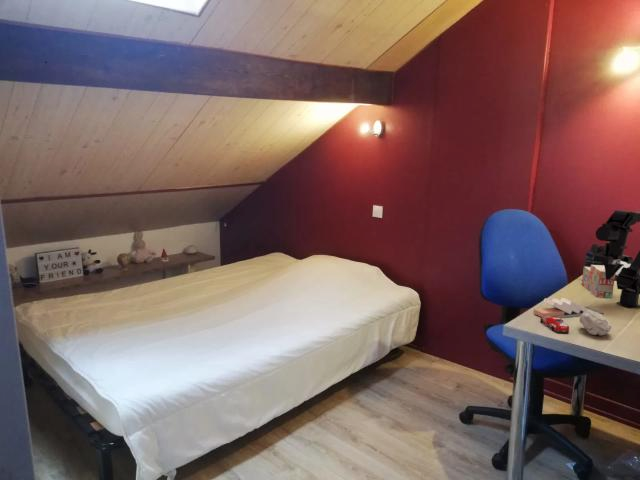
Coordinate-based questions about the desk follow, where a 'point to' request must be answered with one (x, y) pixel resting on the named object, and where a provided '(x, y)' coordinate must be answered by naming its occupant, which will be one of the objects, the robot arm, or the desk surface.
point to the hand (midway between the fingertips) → (607, 279)
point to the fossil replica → (594, 323)
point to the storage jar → (590, 260)
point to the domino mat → (577, 313)
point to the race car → (555, 323)
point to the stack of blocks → (598, 281)
